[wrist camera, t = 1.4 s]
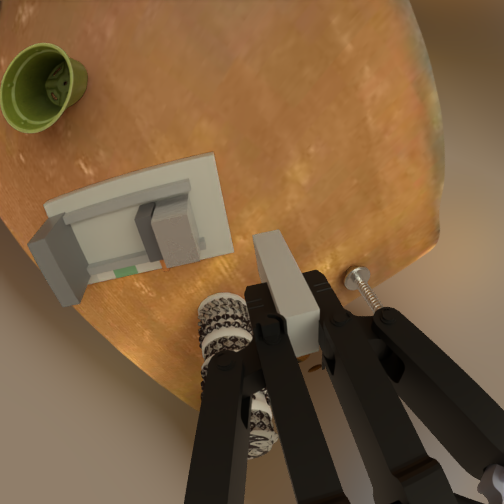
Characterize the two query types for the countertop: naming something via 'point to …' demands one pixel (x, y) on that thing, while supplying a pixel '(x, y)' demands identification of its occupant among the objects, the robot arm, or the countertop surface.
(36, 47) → the plant pot
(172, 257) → the plunger
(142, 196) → the base
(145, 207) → the dark grey upright block
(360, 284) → the screw
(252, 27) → the countertop surface
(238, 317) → the decorative candle
